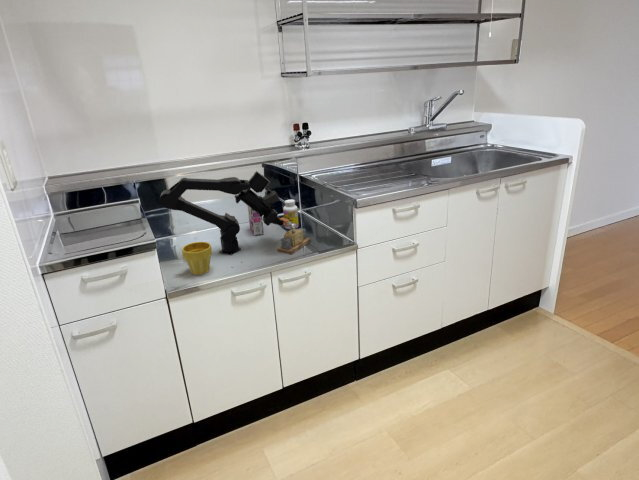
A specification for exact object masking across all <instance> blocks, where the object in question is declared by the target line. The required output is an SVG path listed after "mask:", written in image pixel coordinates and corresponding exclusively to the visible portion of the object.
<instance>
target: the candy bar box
mask: <svg viewBox="0 0 639 480" xmlns="http://www.w3.org/2000/svg"><path fill="white" fill-rule="evenodd" d="M247 213H248V221H249V228H250V231H251V233H252V235H253V236H256V237H257V236H261V235H262V236H263V235H264V225H263V223H264V222H263V216H262V217H260V216H259V214H258V213H257V212H255V211H253V210H252V209H251V208H250V207H249V206H248V205H247Z"/></svg>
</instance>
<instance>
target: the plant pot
mask: <svg viewBox="0 0 639 480" xmlns="http://www.w3.org/2000/svg"><path fill="white" fill-rule="evenodd" d="M212 250H213V249H212V244H211V243H210V242H207V241H195V242H190V243H188V244H187V243H186V244H185V245H184V246H183V247H182V248H181V252H182V257H183V259H184V260H185V261H186V263H187V265H188V267H189V271H190V272H191V274H192V275H196V276H197V275H204V274H207V273H208V272H209V271H210V268H211V267H210V266H211V265H210V264H211V256H212V254H213V251H212Z"/></svg>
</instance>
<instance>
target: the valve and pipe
mask: <svg viewBox="0 0 639 480" xmlns="http://www.w3.org/2000/svg"><path fill="white" fill-rule="evenodd" d="M306 238H308V237H307V232H306V228H302V227H299V228H291V229H289V231H286V232H285V233H284V235H283V237H282V238H281V239H280V246H281V248H283V249H288V250H290V249H291V248H293V246H296V245H298V244H299V243H301V242H302V241H303V240H305V239H306Z"/></svg>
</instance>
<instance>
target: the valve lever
mask: <svg viewBox="0 0 639 480" xmlns="http://www.w3.org/2000/svg"><path fill="white" fill-rule="evenodd" d="M278 218H279V219H280V220H281V221H282V223H283V226H284V225H289V226H290V228H295V229H297V228H296V223H291V222H289V220H288V219H286V218H284V216H283V217H278Z"/></svg>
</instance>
